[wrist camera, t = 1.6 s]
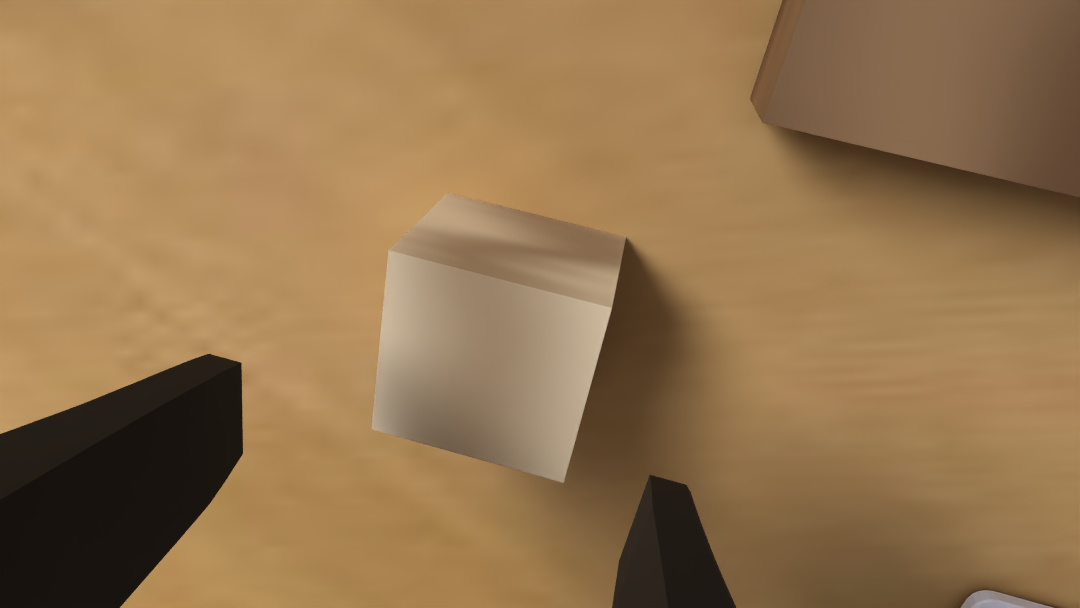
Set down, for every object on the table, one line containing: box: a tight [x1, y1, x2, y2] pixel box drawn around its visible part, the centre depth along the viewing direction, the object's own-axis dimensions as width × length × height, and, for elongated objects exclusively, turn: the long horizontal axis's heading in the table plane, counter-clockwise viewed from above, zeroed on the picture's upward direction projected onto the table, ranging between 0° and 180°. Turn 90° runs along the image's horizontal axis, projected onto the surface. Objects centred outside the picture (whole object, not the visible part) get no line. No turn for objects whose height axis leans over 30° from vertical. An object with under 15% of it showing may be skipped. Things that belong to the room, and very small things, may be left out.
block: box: [372, 193, 626, 483], centre depth 16 cm, size 4×4×4 cm
